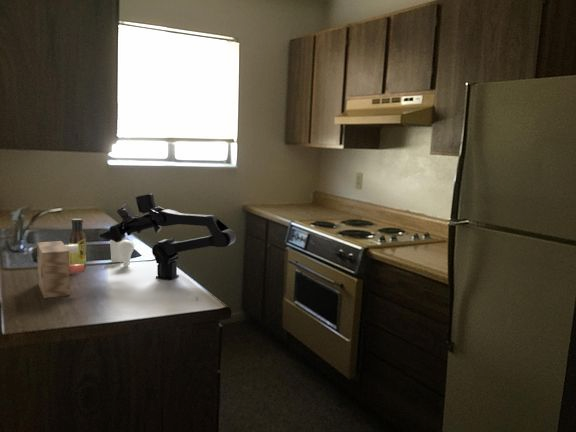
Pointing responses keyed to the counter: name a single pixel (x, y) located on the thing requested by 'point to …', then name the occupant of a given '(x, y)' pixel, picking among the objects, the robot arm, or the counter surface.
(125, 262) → the lightbulb
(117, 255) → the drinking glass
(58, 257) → the wooden block
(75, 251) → the ivory button
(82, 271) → the salmon pink cylinder
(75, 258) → the sauce bottle
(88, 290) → the counter surface
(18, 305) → the counter surface
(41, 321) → the counter surface
